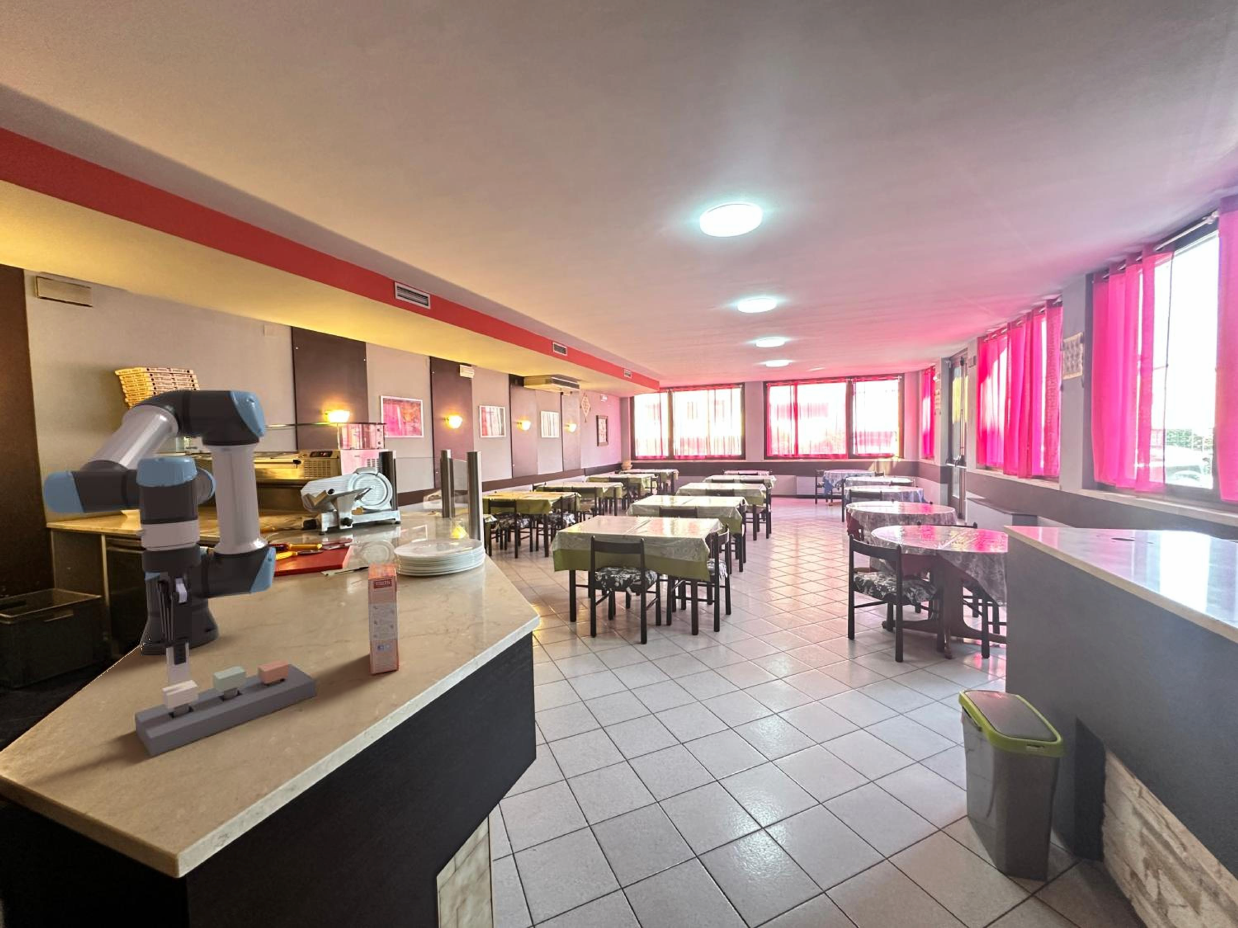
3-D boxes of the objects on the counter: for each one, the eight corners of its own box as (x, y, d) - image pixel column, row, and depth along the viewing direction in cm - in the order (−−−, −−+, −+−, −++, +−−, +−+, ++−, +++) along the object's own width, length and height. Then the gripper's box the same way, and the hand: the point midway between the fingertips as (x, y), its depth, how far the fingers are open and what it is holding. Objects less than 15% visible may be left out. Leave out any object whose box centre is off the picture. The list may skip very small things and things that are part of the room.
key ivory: (163, 718, 87) (162, 688, 87) (193, 708, 90) (191, 679, 90) (169, 725, 84) (167, 695, 84) (199, 715, 87) (197, 685, 87)
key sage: (214, 701, 92) (212, 673, 92) (240, 692, 95) (238, 665, 95) (220, 708, 90) (219, 679, 90) (247, 698, 93) (245, 670, 93)
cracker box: (401, 670, 108) (397, 574, 108) (370, 676, 106) (365, 578, 105) (399, 647, 121) (395, 562, 120) (371, 652, 118) (367, 565, 118)
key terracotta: (259, 692, 98) (257, 666, 98) (282, 684, 101) (281, 659, 101) (266, 698, 95) (265, 671, 95) (290, 690, 98) (288, 663, 98)
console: (135, 729, 87) (134, 713, 87) (291, 677, 106) (290, 663, 106) (151, 756, 79) (150, 738, 79) (316, 694, 98) (315, 679, 98)
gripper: (134, 546, 87) (142, 678, 88) (150, 554, 79) (158, 700, 80) (189, 539, 93) (196, 663, 94) (209, 545, 85) (217, 682, 86)
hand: (179, 680), depth 87 cm, fingers closed
